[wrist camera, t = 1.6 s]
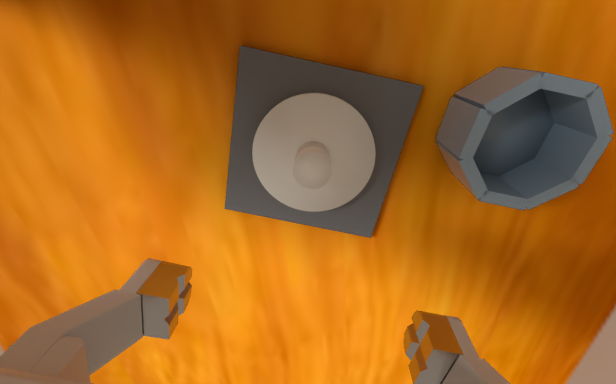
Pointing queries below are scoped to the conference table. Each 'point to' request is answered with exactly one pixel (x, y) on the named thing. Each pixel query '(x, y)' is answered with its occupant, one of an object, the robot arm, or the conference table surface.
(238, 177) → the mat
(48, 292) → the conference table surface
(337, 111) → the lid
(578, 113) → the bowl
